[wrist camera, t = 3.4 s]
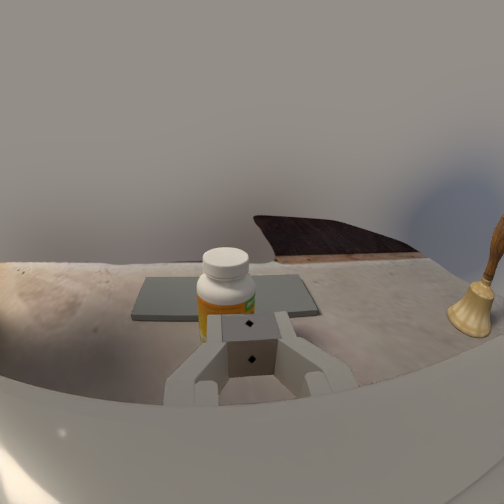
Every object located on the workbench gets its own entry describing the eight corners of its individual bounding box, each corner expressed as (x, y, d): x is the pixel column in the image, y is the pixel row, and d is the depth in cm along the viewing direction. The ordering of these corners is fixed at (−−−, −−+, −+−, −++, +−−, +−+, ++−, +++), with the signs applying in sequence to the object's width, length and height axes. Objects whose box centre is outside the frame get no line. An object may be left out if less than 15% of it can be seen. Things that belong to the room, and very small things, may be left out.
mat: (132, 320, 29) (130, 314, 29) (146, 282, 38) (146, 277, 37) (317, 315, 32) (318, 309, 32) (297, 279, 40) (298, 274, 40)
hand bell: (498, 331, 26) (536, 228, 20) (470, 343, 25) (515, 225, 19) (467, 302, 34) (496, 208, 27) (437, 309, 33) (468, 202, 26)
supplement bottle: (252, 360, 25) (257, 271, 21) (197, 357, 25) (188, 268, 21) (252, 326, 30) (256, 245, 26) (204, 323, 30) (200, 242, 26)
